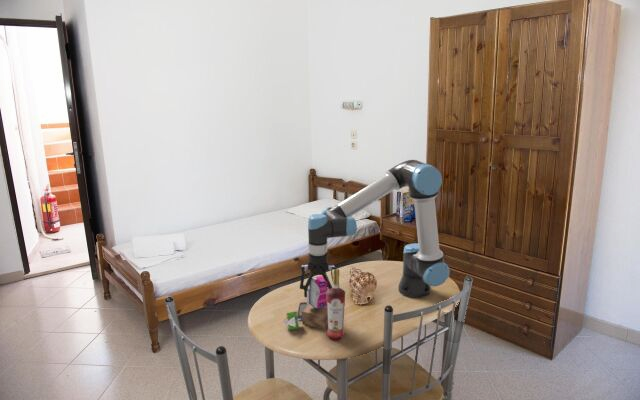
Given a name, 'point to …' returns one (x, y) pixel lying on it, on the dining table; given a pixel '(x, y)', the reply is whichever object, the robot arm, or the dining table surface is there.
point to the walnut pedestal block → (315, 316)
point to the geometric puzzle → (292, 320)
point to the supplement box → (318, 292)
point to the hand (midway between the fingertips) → (318, 304)
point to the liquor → (335, 307)
